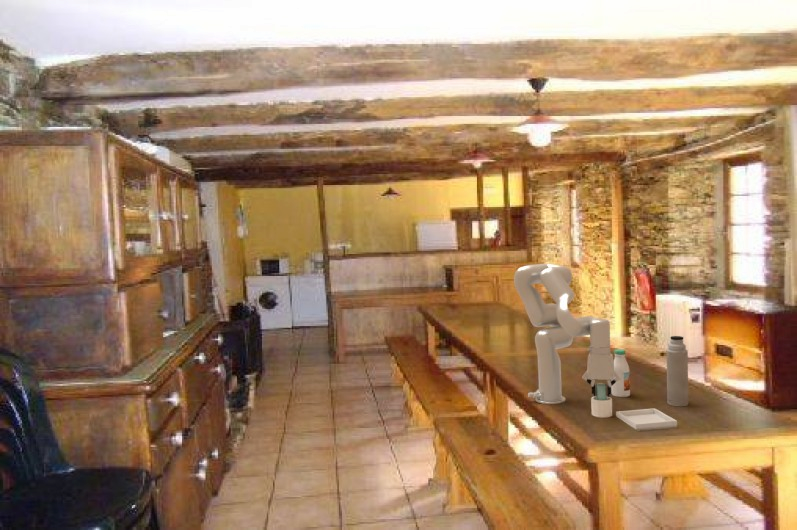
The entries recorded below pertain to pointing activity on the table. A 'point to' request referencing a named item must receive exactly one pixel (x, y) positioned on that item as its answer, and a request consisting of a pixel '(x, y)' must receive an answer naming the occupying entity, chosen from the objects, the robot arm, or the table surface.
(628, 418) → the tray
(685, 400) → the thermos bottle
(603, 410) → the cup
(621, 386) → the milk bottle
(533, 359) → the table surface
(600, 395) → the peg
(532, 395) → the robot arm
